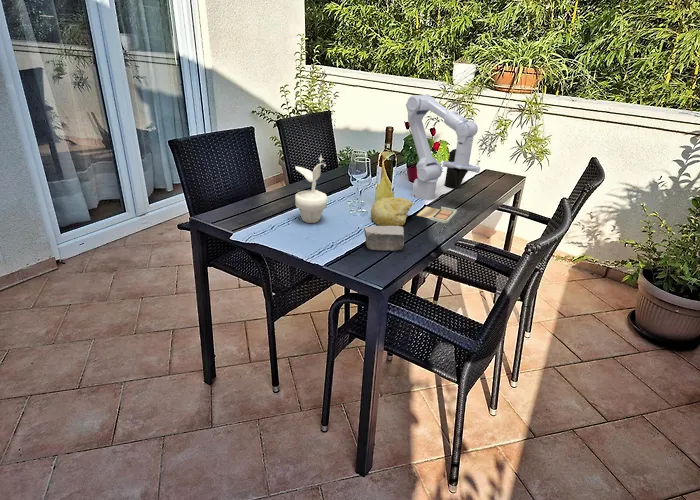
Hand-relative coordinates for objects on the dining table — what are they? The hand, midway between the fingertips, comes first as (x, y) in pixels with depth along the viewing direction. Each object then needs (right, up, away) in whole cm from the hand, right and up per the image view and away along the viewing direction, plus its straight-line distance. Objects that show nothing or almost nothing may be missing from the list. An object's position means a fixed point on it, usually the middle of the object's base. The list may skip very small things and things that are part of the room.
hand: (457, 187), depth 182 cm
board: (-12, -12, -2) cm, 17 cm away
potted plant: (-59, -14, -13) cm, 62 cm away
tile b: (-8, -14, -8) cm, 18 cm away
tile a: (-6, -12, -3) cm, 14 cm away
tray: (-7, -13, -4) cm, 16 cm away
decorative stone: (-32, -25, -30) cm, 50 cm away
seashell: (-28, -16, -11) cm, 34 cm away
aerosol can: (+6, +5, +36) cm, 36 cm away
